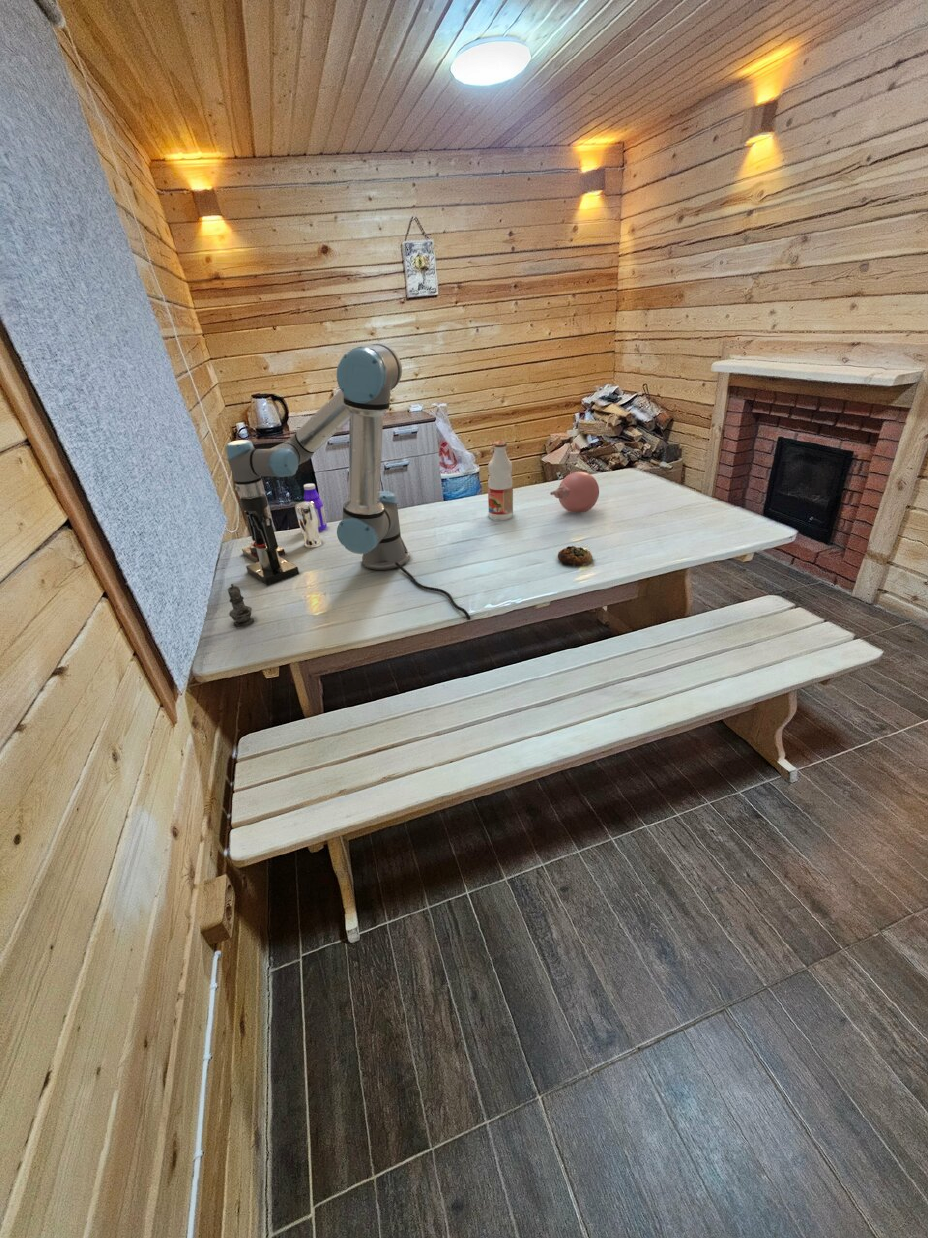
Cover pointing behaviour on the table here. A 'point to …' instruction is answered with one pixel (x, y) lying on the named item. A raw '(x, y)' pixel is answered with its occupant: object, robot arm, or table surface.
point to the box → (253, 554)
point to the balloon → (577, 492)
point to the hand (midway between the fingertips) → (270, 565)
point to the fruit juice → (500, 484)
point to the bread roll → (574, 556)
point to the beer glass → (308, 523)
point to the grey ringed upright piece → (239, 608)
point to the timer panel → (272, 572)
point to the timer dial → (264, 556)
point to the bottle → (314, 497)
